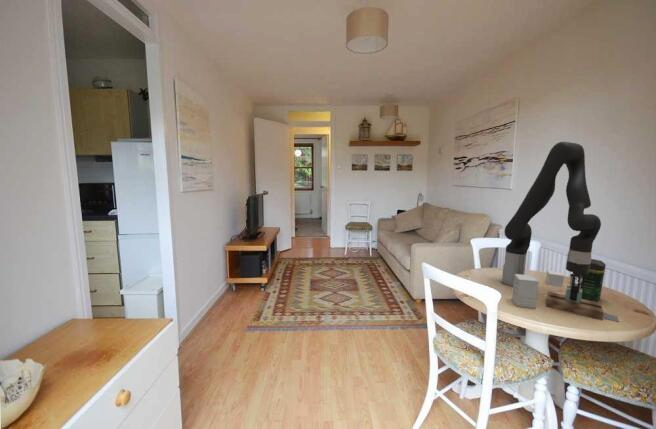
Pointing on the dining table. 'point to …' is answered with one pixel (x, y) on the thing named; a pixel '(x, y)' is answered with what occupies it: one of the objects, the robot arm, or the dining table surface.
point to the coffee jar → (593, 281)
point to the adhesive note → (554, 278)
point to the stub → (577, 295)
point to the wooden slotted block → (575, 306)
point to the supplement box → (525, 290)
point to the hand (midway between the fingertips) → (572, 299)
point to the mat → (610, 317)
